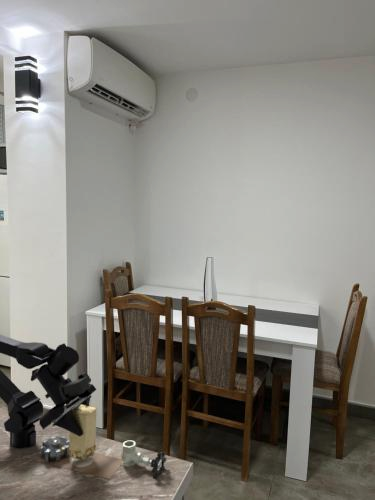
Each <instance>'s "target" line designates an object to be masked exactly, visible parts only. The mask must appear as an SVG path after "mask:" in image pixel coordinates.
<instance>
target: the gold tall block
mask: <svg viewBox="0 0 375 500" xmlns="http://www.w3.org/2000/svg"><path fill="white" fill-rule="evenodd" d="M75 408H76V407H75ZM75 408H74V409H72V413H73V418H74V419H75V421H76V423H77V424H78V426H79V427H80V429H81V431H82V433H83V435H82V436H78V435H76V434H74V433H72V432H70V431H69V439H68V440H69V456H72V457H73V459H75V460H77V459H83V460H85V459H87V458H88V457H90V456H93V455H94V453H95V452H96V441H97V440H96V438H97V434H96V433H97V408H98V407H93V406H90V405H89V406H86V405H80V406H78V407H77V408H76V409H75Z"/></svg>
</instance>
